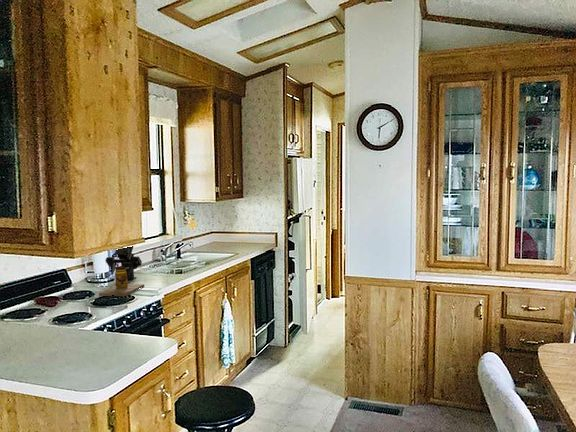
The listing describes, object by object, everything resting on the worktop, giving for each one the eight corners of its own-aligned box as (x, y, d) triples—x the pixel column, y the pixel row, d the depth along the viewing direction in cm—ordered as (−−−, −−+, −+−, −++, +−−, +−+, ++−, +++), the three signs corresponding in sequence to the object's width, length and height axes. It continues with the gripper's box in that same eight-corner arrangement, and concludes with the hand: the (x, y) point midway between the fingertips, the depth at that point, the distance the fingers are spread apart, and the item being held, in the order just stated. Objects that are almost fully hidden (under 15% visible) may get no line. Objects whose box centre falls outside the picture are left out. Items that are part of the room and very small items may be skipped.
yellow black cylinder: (121, 290, 272) (119, 268, 270) (110, 289, 276) (108, 267, 275) (131, 287, 278) (130, 265, 277) (120, 286, 282) (119, 265, 281)
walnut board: (118, 286, 288) (117, 284, 288) (144, 286, 285) (144, 284, 285) (98, 295, 268) (98, 293, 268) (126, 295, 266) (126, 293, 265)
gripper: (105, 242, 279) (97, 266, 269) (138, 241, 277) (131, 265, 267) (112, 254, 288) (105, 277, 278) (144, 253, 286) (138, 277, 276)
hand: (120, 274), depth 275 cm, fingers open, 9 cm apart
